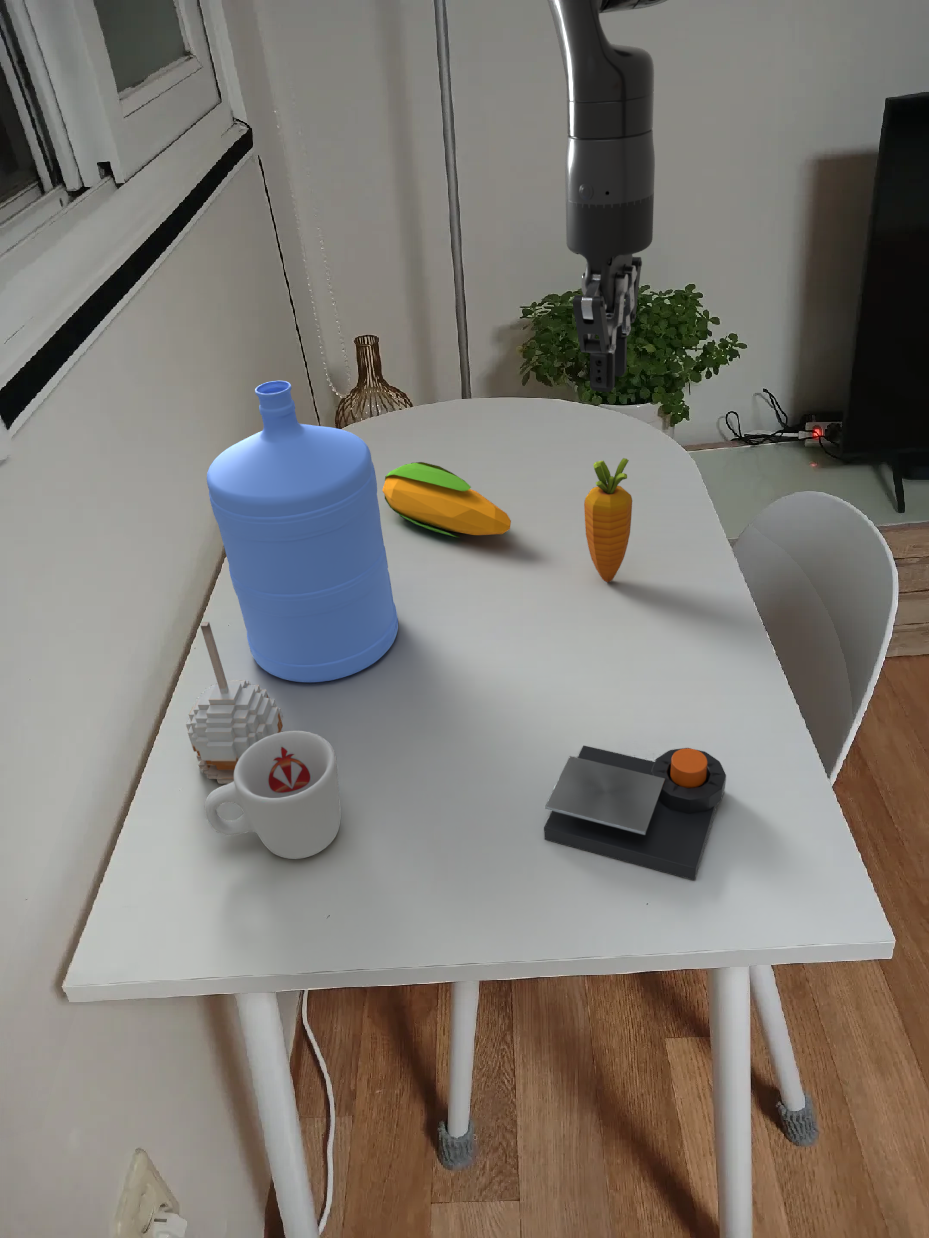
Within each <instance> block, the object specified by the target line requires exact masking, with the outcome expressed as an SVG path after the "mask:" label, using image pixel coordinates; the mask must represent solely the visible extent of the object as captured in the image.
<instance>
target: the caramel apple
mask: <svg viewBox="0 0 929 1238" xmlns="http://www.w3.org/2000/svg"><path fill="white" fill-rule="evenodd" d="M200 629H201V632H202V636H203V640H204V642H205V646H206V649H207V652H208V656H209V659H210V663H211V665H212V669H213V672H214V676H215V679H216V682H217V683H215V684H211V685H210V686H209V687H205V689H204V691H203V692H200V695H199V697H196V698H195V701H194V703H193V704H192V706H191V709H190V711H189V713H188V718H187V720H186V723H185V727H186V729H187V735H188V738H189V741H190V744H191V748H192V750H193V752H194V753H195V752H196V754H197V755H196V759H197V761H198V762H199V763H198V768H199V770H201V771H202V773H203V775H206V777H207V779H209V780H216V781H217V784H229V783H231V782H233V781H234V770H235V766H236V764H237V762H238V760H239V758H240V757H241V755H242V754H243V753H244V752H245V751H246V750H247V749H248V748H249V747H251V746H252V745H253V744H254V743H256V742H258V741H259V740H261V739H263V738H265V737H268V736H270V735H273V734H276V733H280V732H284V731H282V730H283V727H284V726H283V725H284V724H283V722H282V721H283V719H284V716H283V715H284V714H283V711H282V708H281V707H279V706H278V704H277V701H276V699H275V698H270V697H269V694H268V690H267V689H261V687H260V684H250V680H246V679H227V678H226V675H225V671H224V668H223V665H222V661H221V657H220V655H219V651H218V648H217V644H216V640H215V637H214V634H213V631H212V630H213V629H212V626H211V624H210V621H202V622H201V624H200Z"/></svg>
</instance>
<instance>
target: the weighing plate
mask: <svg viewBox="0 0 929 1238" xmlns="http://www.w3.org/2000/svg"><path fill="white" fill-rule="evenodd" d="M577 757H578V756H577ZM577 757H576V756H572V755H569V756H568V758H567V761H566V763H565V765H564V767H563V769H562V771H561V773H560V775H559V777H558V778H557V781H556V784H555V785H554V787H553V789H552V791H551V793H550V795H549V798H548V799H547V802H546V803H545V805H544V809H545V810H548V811H551V812H552V811H555V812H559V813H563V814H567V815H570V816H574V817H578V818H582V819H586V820H589V821H593V822H597V823H601V824H605V825H608V826H612V827H616V828H620V829H624V830H627V831H631V832H635V833H639V834H643V835H646V832H647V829H648V826H649V824H650V821H651V818H652V816H653V813H654V810H655V807H656V805H657V802H658V799H659V797H660V794H661V791H662V788H663V786H664V783H665V778H661V777H657V776H653V775H648V774H644V773H640V772H636V771H632V770H627V769H623V768H619V767H615V766H611V765H606V764H602V763H598V762H594V761H590V760H585V759H581V758H577Z"/></svg>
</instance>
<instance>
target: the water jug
mask: <svg viewBox="0 0 929 1238" xmlns="http://www.w3.org/2000/svg"><path fill="white" fill-rule="evenodd" d="M291 391H292V385H291V383H290V382H288V381H286V380H272V381H271V380H270V381H267V382H264V383H262V384H260V385H258V386H256V387H255V389H254V392H255V395H256V397H258V401H259V406H258V409H259V410H258V411H259V414H260V415H261V419H262V423H263V428H262V430H261V431H259V432H256V433H254V434H253V435H251V436H249V437H248V436H247V438H243V440H240V441H238V442H237V443H234V444H233V445H231V446H229V447H227V448H226V449H225V450H224V451H222V452H221V453H220V454H219V455H218V456H216V457H215V459H213V461H212V462H211V464H210V465H209V467H208V470H207V473H206V484H207V488H208V496H209V502H210V506H211V509H212V514H213V516H214V519H215V521H216V523H217V526H218V529H219V532H220V536H221V540H222V544H223V547H224V552H225V556H226V560H227V563H228V571H229V577H230V580H231V583H232V588H233V590H234V593H235V595H236V597H237V600H238V604H239V608H240V612H241V615H242V618H243V621H244V626H245V629H246V630H245V631H246V639H247V643H248V647H249V650H250V654H251V656H252V658H253V660H254V662H255V663H256V664H257V665H258V666H259V667H260V668H261V669H263V670H264V671H265V672H267V673H268V674H270V675H272V676H274V677H277V678H280V679H282V680H287V681H290V682H297V683H322V682H328V681H335V680H339V679H342V678H346V677H349V676H352V675H354V674H356V673H357V674H358V673H359V672H361V671H363V670H365V669H367V668H369V667H370V666H372V665H373V664H374V663H377V662H378V661H379V660H380V659H381V658H383V656H384V655H385V654H387V652H388V651H389V650H390V648H391V647H392V645H393V644H394V642H395V640H396V637H397V634H398V631H399V619H398V612H397V607H396V603H395V601H394V596H393V589H392V588H393V587H392V583H391V577H390V576H391V575H390V572H389V563H388V558H387V552H386V550H387V549H386V546H385V542H384V537H383V529H382V522H381V513H380V505H379V504H380V503H379V499H378V482H377V476H376V475H377V474H376V470H375V465H374V463H373V460H372V452H371V450H370V447H369V445H368V444H367V443H366V442H365V441H364V440H363V439H362V438H361V437H360V436H358V435H356V434H355V433H353V432H350V431H348V430H344V429H341V428H337V427H331V426H321V425H314V424H312V425H311V424H305V423H300V422H299V421H298V418H297V414H296V405H295V403H296V402H295V401H294V399H293V398H292V393H291Z"/></svg>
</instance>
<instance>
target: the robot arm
mask: <svg viewBox="0 0 929 1238" xmlns="http://www.w3.org/2000/svg"><path fill="white" fill-rule="evenodd" d="M546 1H547V4H548V8H549V11H550V14H551V18H552V22H553V25H554V29H555V32H556V36H557V41H558V46H559V51H560V55H561V60H562V66H563V70H564V76H565V83H566V84H565V85H566V122H567V123H566V126H567V127H566V129H567V130H566V131H567V141H566V142H567V143H566V151H565V162H564V164H565V165H564V179H565V180H564V183H565V188H564V189H565V233H566V234H565V237H566V238H565V239H566V246H567V249H568V250H569V251H570V252H571V253H573V254H575V255H580V256H582V257H583V258H584V259H585V260H586V261H585V262H586V264H585V272H582V273H583V274H582V276H581V277H582V278H581V289H580V290H581V292H582V294H583V295H582V294H581V295H579V294H575V295H574V297H573V300H572V308H573V315H574V320H575V327H576V333H577V338H578V345H579V351H580V353H588V354H589V387H590V389H591V391H594V392H605V393H610V392H612V390H613V389H614V388H615V384H616V378H615V377H623V376H624V374H625V373H626V372H627V360H628V359H627V355H628V353H627V352H628V337H627V336H629V335H630V333H631V329H632V327H631V324H634V323H635V322H636V321H635V320H636V318H637V313H636V312H637V307H638V297H639V288H640V280H641V273H642V272H641V270H642V266H643V261H642V257H641V256H633V255H634V254H637V253H639V252H642V251H644V250H646V249H648V248H649V247H650V246H651V244H652V242H653V239H654V238H653V235H654V234H653V233H654V203H655V202H654V200H655V172H656V171H655V168H656V157H655V145H654V130H653V127H654V100H655V99H654V98H655V96H654V95H655V93H654V91H655V65H654V60H653V57H652V55H651V54H650V53H649V52H648V51H647V50H646V49H643V48H640V47H637V46H631V45H622V44H615V43H611V42H610V41H609V39H608V38H607V36H606V34H605V31H604V29H603V26H602V23H601V19H600V14H608V13H616V12H625V11H632V10H633V11H634V10H640V9H645V8H650V7H654V6H657V5H661V4H663V3H666V2H668V1H669V0H546ZM596 335H597V337H598V338H596Z"/></svg>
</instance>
